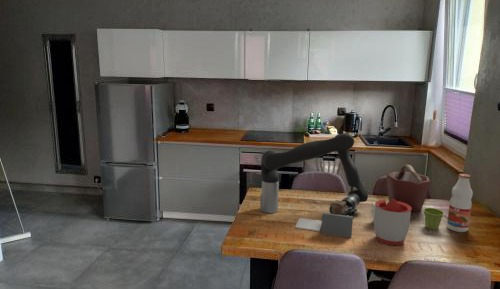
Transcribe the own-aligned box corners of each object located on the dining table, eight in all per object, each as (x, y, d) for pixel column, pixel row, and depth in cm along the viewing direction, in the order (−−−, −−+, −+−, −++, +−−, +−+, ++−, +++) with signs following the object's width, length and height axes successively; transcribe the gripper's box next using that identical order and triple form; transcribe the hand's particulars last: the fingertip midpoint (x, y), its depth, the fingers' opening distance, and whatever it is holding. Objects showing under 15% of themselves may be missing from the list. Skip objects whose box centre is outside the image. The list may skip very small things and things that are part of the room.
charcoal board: (321, 233, 176) (322, 213, 175) (321, 232, 178) (322, 212, 176) (351, 237, 172) (352, 217, 170) (351, 236, 174) (353, 216, 172)
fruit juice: (471, 229, 184) (479, 175, 179) (462, 234, 179) (470, 178, 173) (451, 223, 191) (458, 171, 186) (443, 227, 186) (450, 174, 180)
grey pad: (295, 227, 182) (295, 226, 182) (299, 218, 193) (299, 217, 193) (319, 231, 178) (319, 230, 178) (322, 222, 190) (322, 221, 190)
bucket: (427, 218, 197) (432, 173, 193) (383, 212, 205) (388, 168, 200) (423, 203, 220) (428, 163, 215) (384, 198, 227) (387, 159, 223)
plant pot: (440, 225, 189) (442, 209, 187) (443, 232, 180) (445, 215, 178) (420, 222, 192) (422, 206, 190) (422, 229, 183) (424, 213, 181)
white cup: (388, 226, 186) (390, 207, 184) (372, 224, 188) (374, 206, 186) (386, 220, 194) (388, 202, 192) (370, 219, 195) (372, 201, 193)
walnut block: (330, 229, 181) (332, 202, 178) (334, 226, 185) (336, 199, 182) (340, 232, 178) (342, 204, 175) (344, 228, 182) (346, 201, 180)
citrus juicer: (404, 233, 178) (408, 194, 174) (411, 249, 162) (415, 206, 158) (370, 229, 182) (373, 191, 178) (373, 245, 165) (377, 203, 161)
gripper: (335, 195, 195) (323, 204, 181) (362, 200, 187) (351, 210, 173) (334, 208, 196) (322, 218, 182) (361, 214, 189) (350, 225, 175)
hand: (336, 214), depth 178 cm, fingers closed on walnut block, 5 cm apart
